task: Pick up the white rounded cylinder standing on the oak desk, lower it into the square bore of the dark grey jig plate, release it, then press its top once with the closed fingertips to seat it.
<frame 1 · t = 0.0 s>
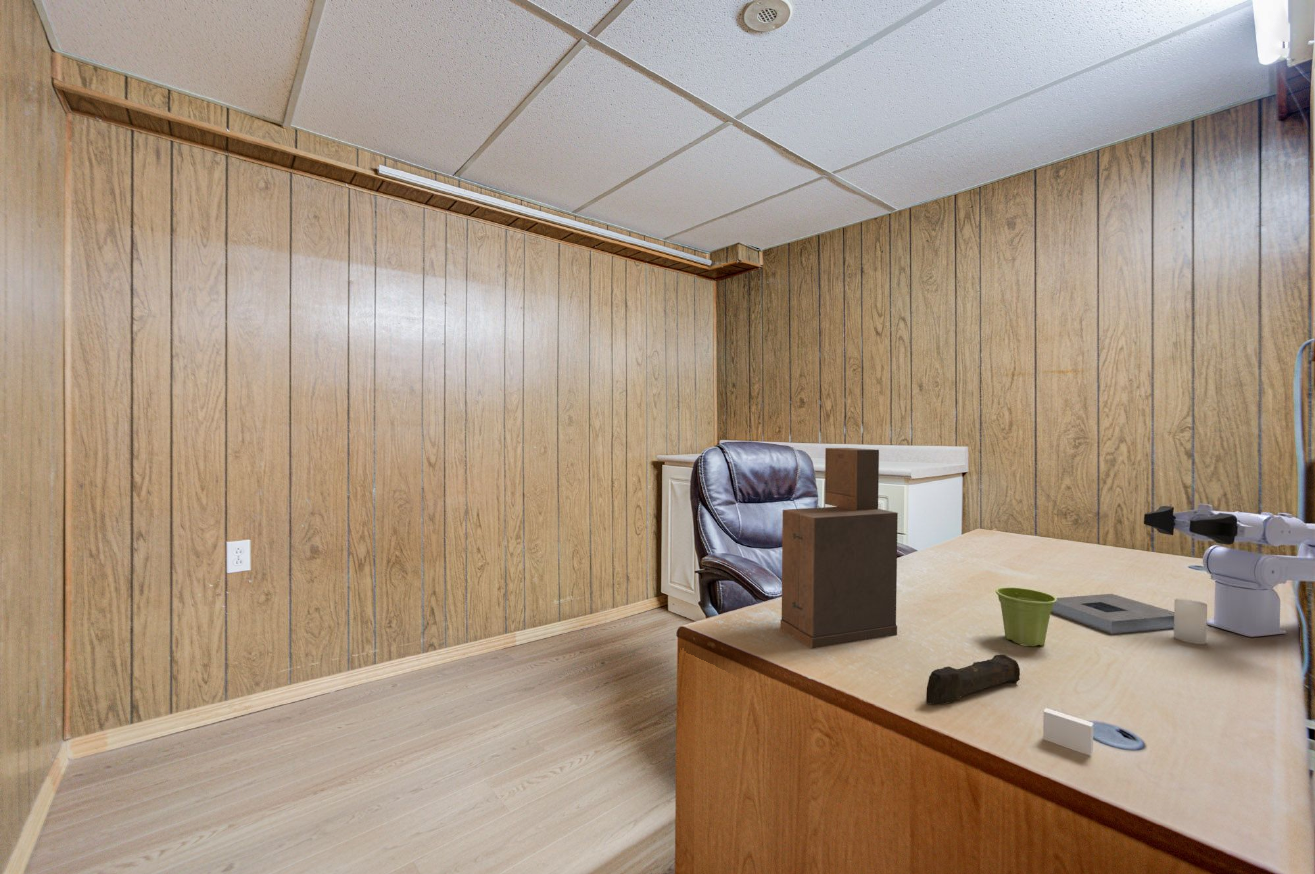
hand: (1168, 522, 104), 22 cm above the table, tool horizontal, fingers open, 7 cm apart
dark brown ridged bar: (973, 695, 82), on the table
white rounded cylinder: (1189, 639, 103), on the table
eraser: (1067, 747, 68), on the table
jig: (1103, 619, 114), on the table
stacked wooden boxes: (838, 630, 107), on the table
plant pot: (1024, 641, 102), on the table
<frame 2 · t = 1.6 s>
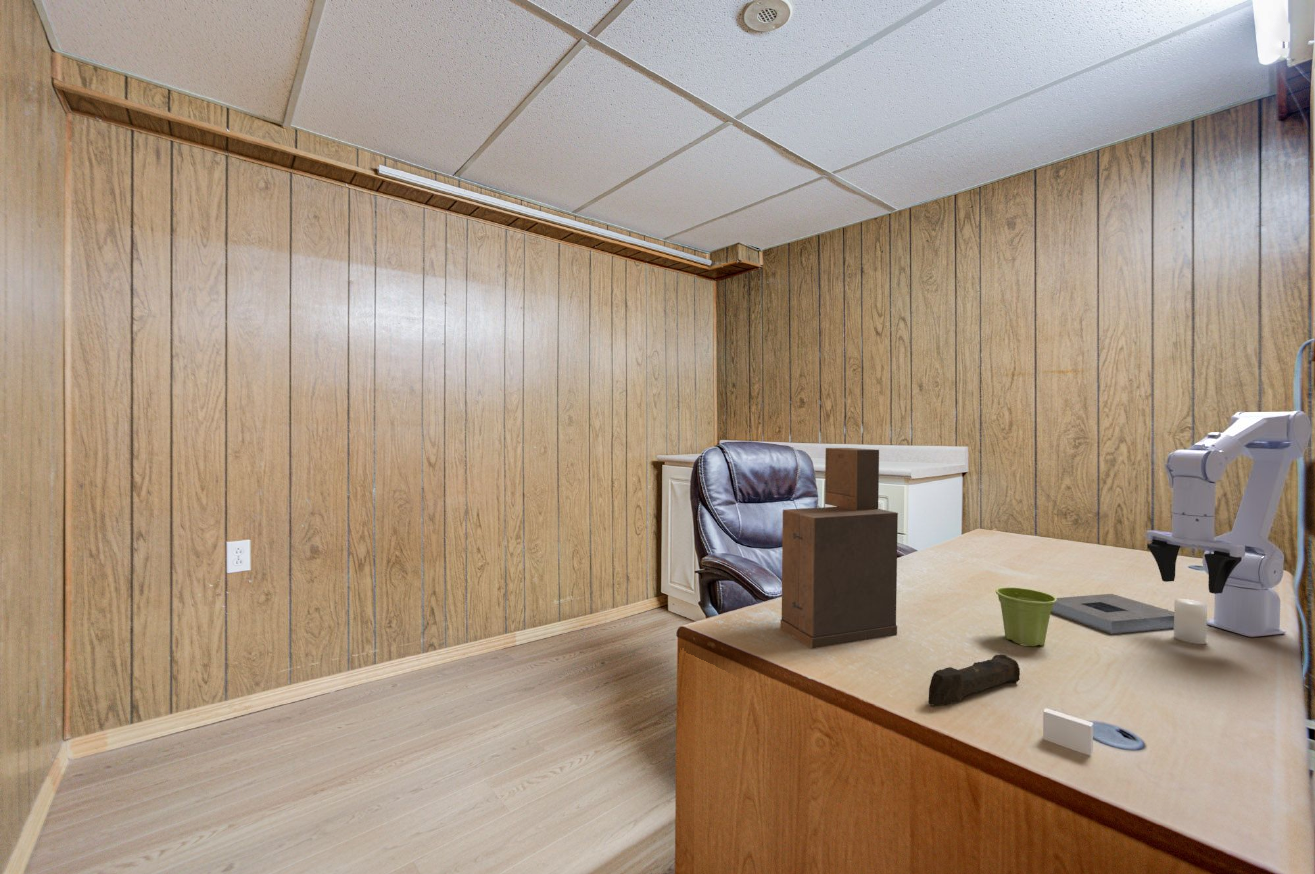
hand: (1191, 586, 103), 10 cm above the table, tool pointing down, fingers open, 7 cm apart
nothing on the table moved.
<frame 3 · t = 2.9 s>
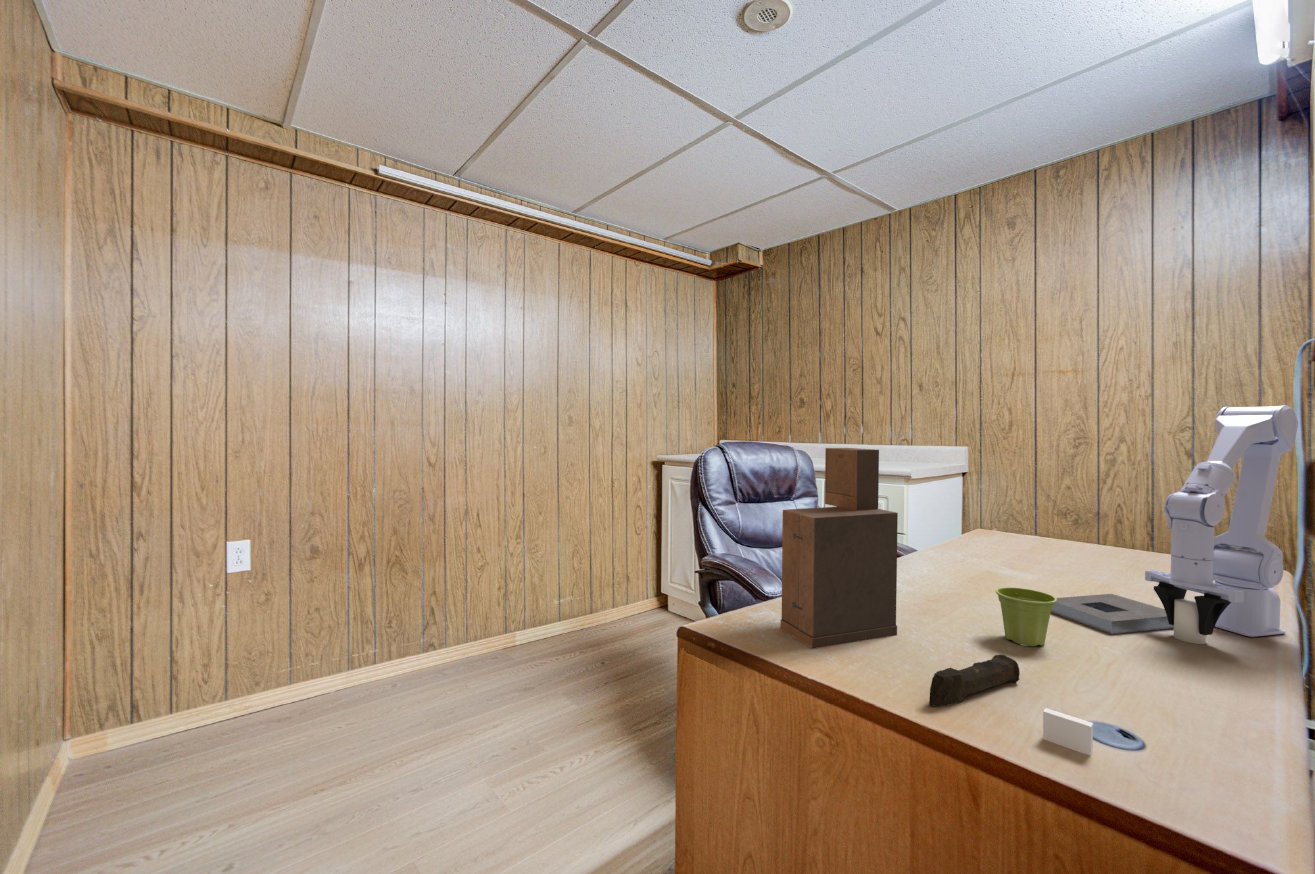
hand: (1189, 629, 103), 2 cm above the table, tool pointing down, fingers closed on white rounded cylinder, 4 cm apart
white rounded cylinder: (1189, 639, 103), on the table, touching gripper
everything else where it was.
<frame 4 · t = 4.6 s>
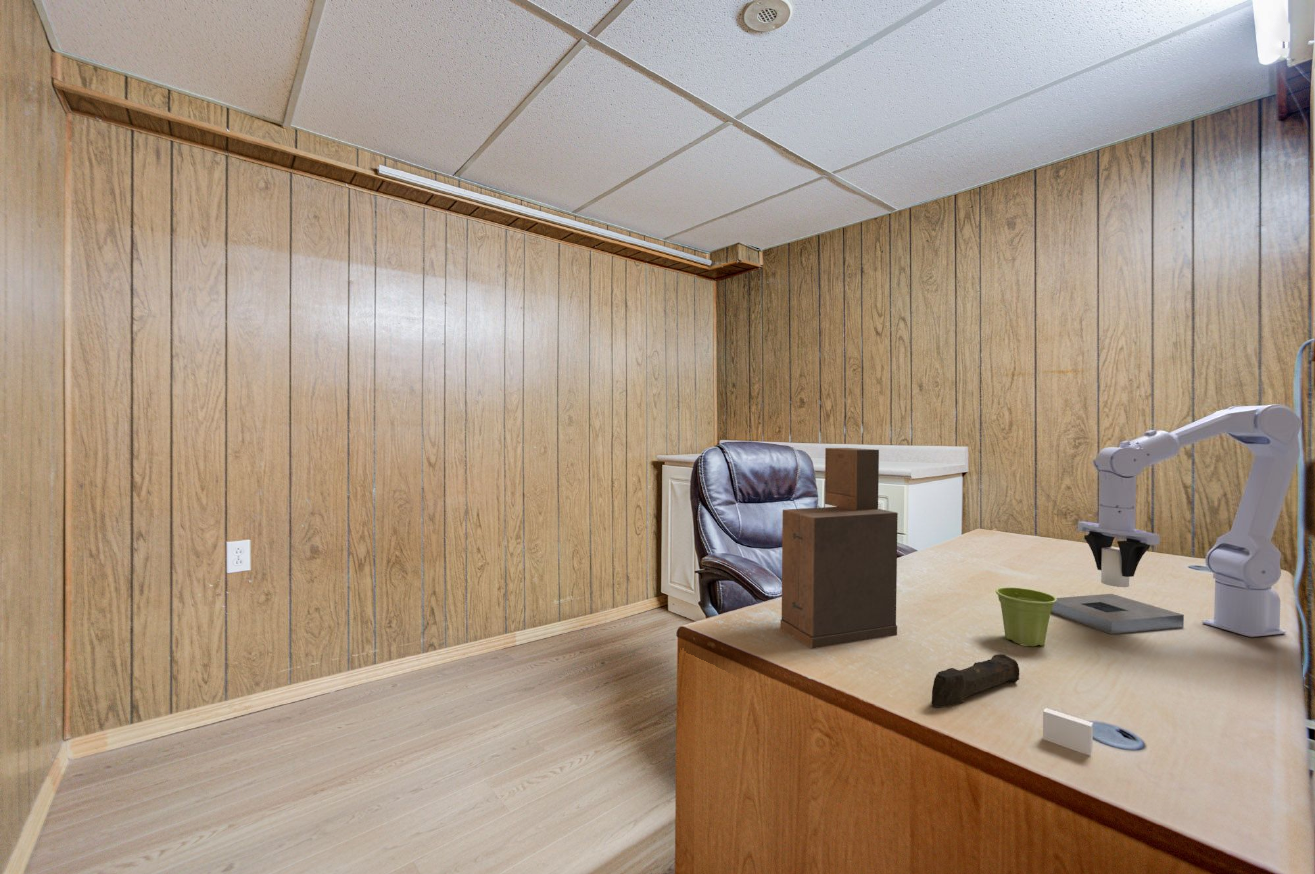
hand: (1115, 573, 112), 10 cm above the table, tool pointing down, fingers closed on white rounded cylinder, 4 cm apart
white rounded cylinder: (1114, 583, 112), point 8 cm above the table, touching gripper
everything else where it was.
when the fingers open (3 cm above the table, at t = 6.5 s): white rounded cylinder drops 1 cm, resting in jig.
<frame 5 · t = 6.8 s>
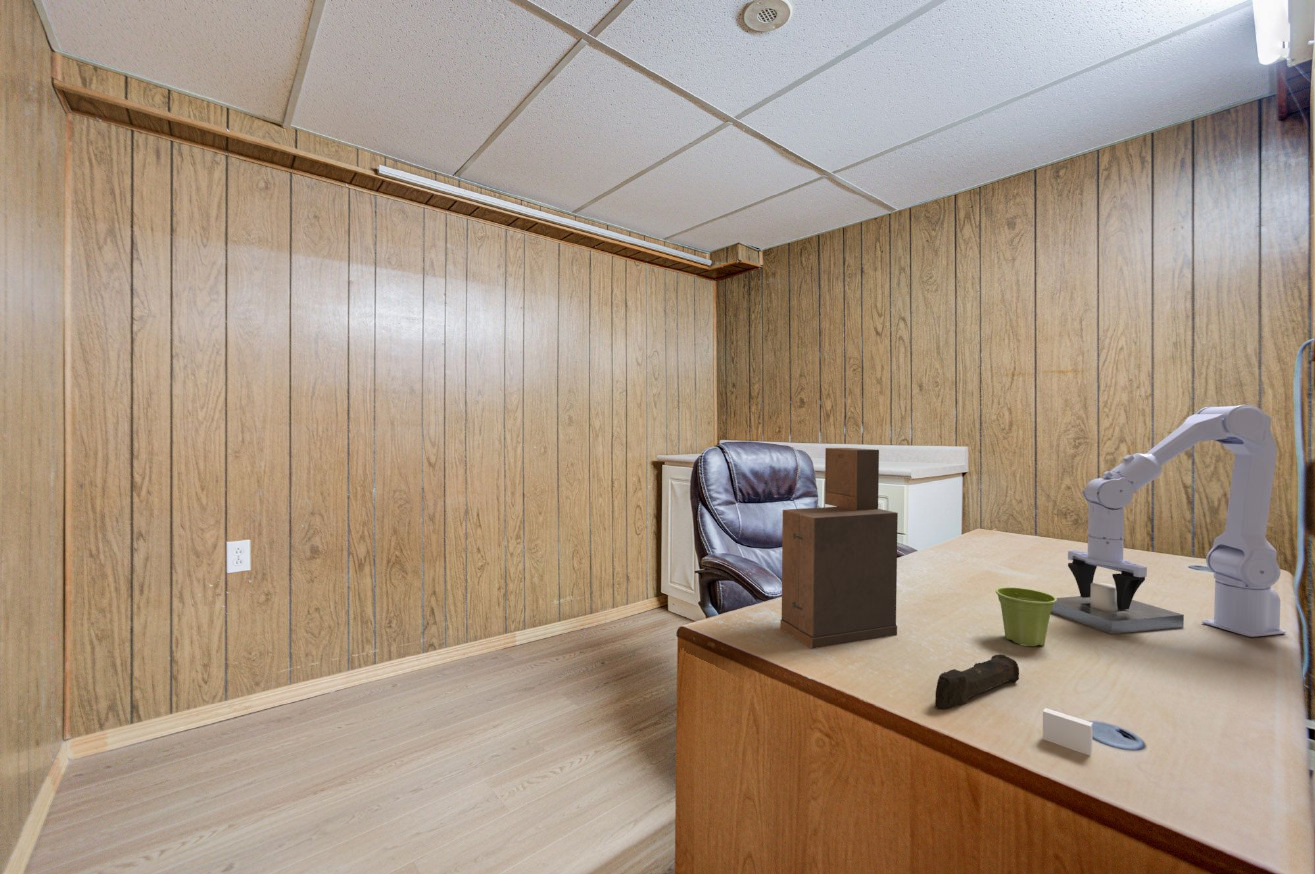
hand: (1104, 602, 114), 3 cm above the table, tool pointing down, fingers open, 7 cm apart
white rounded cylinder: (1103, 619, 114), resting in jig
everything else where it was.
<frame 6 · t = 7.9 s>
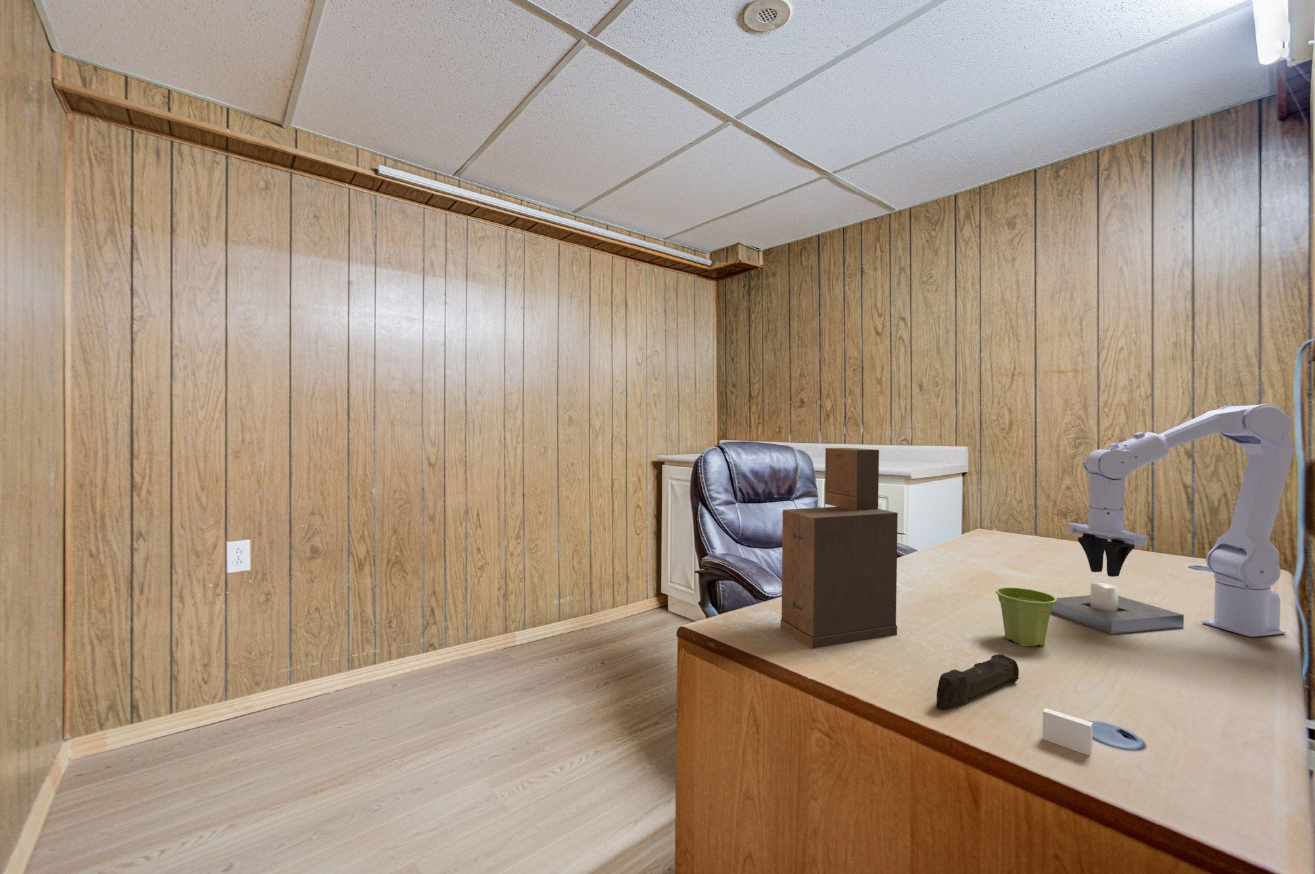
hand: (1104, 573, 113), 9 cm above the table, tool pointing down, fingers open, 3 cm apart
nothing on the table moved.
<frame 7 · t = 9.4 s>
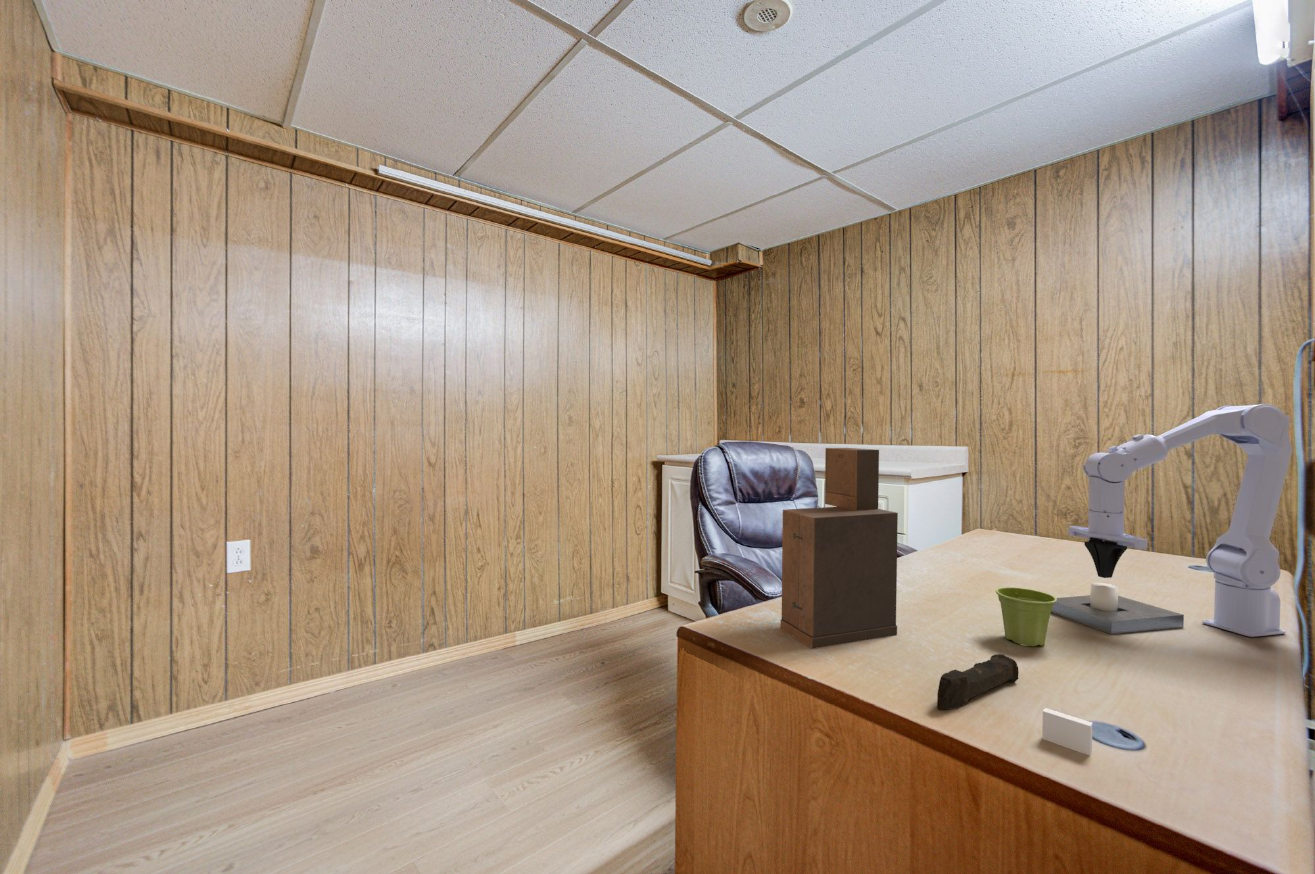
hand: (1104, 576, 113), 9 cm above the table, tool pointing down, fingers closed
nothing on the table moved.
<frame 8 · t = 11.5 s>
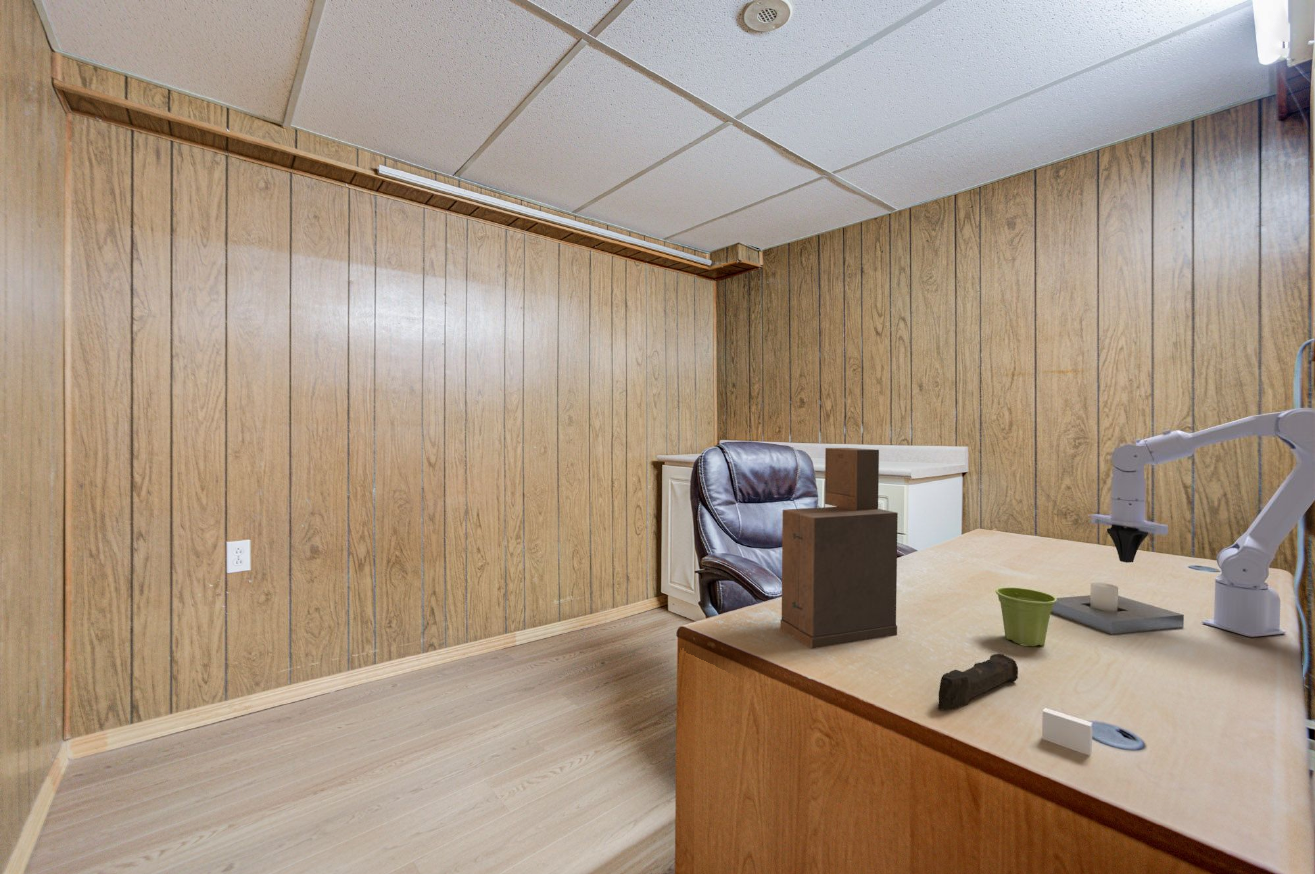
hand: (1126, 561, 120), 10 cm above the table, tool pointing down, fingers closed
nothing on the table moved.
at the end: white rounded cylinder 0.0 cm off-centre on the jig, point 0.0 cm above the jig's base; white rounded cylinder tilted 0°; the gripper is holding nothing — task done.
